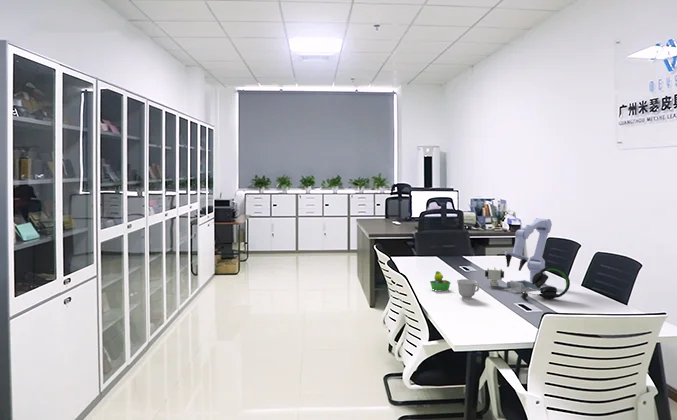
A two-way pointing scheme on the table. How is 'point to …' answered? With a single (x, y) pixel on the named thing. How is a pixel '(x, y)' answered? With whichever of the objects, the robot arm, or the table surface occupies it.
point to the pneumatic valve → (494, 275)
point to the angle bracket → (515, 287)
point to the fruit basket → (439, 282)
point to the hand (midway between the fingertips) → (513, 268)
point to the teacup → (467, 288)
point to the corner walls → (526, 284)
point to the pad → (527, 289)
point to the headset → (547, 291)
